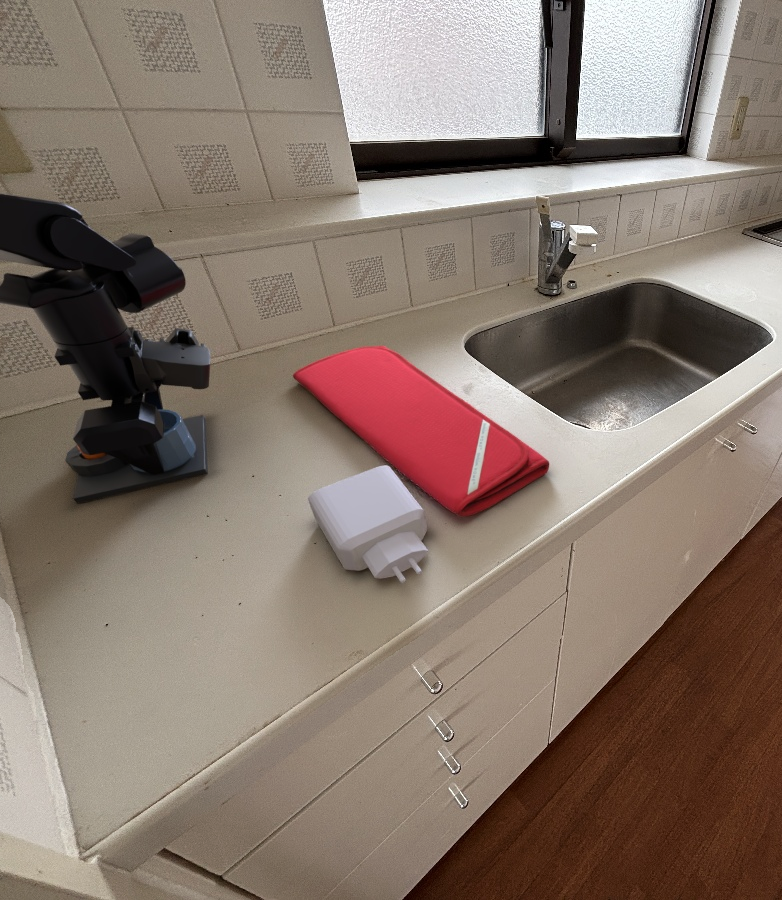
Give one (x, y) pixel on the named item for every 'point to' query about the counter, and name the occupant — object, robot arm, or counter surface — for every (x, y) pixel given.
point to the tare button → (92, 455)
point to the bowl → (174, 442)
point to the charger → (372, 523)
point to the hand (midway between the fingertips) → (160, 449)
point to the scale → (120, 477)
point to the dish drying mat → (423, 428)
